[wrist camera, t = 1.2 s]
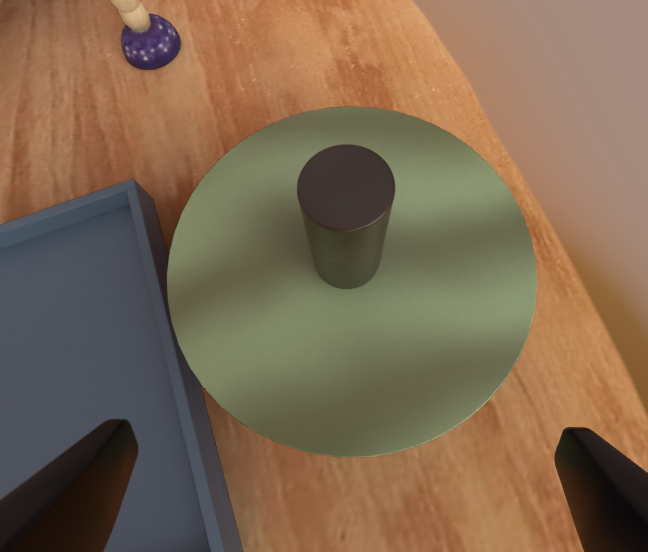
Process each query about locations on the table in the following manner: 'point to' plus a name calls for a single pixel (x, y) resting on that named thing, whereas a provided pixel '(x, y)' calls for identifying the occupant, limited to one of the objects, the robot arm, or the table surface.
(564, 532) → the table surface
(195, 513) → the tray
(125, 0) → the toy lamp
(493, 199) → the basket lid
